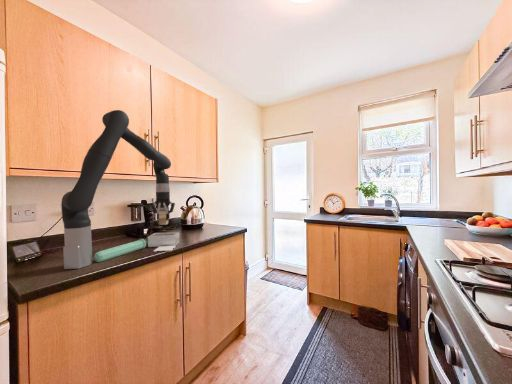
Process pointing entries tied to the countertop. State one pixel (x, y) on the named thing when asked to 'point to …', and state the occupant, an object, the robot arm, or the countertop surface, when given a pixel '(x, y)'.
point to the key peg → (162, 217)
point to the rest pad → (164, 248)
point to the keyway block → (163, 239)
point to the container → (119, 250)
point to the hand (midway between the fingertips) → (163, 219)
